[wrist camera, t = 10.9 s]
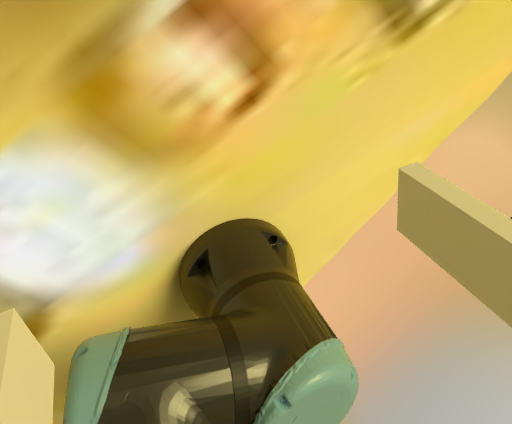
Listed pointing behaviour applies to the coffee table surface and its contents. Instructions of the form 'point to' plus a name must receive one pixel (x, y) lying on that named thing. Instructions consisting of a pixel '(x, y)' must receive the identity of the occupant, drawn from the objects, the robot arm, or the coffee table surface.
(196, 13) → the coffee table surface
